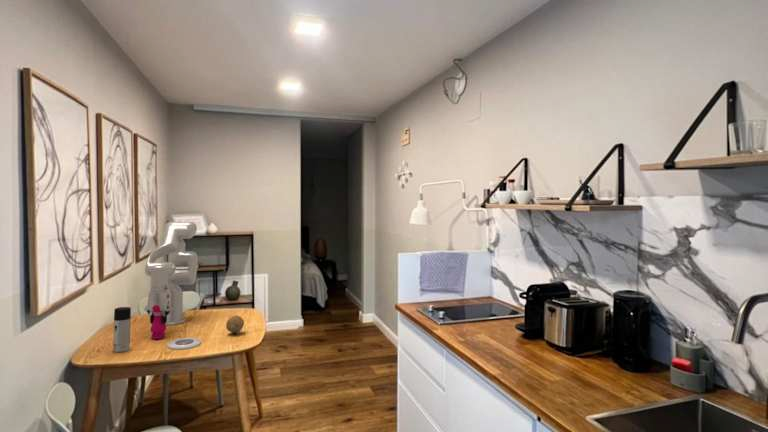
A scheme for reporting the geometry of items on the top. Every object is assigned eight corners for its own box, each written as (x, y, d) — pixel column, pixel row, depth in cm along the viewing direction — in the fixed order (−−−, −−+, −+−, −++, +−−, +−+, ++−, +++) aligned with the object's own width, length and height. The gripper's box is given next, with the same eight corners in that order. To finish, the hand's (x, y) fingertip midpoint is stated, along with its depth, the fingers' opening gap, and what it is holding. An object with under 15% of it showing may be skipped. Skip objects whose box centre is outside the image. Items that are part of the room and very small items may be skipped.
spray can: (118, 347, 196) (118, 306, 195) (132, 347, 196) (133, 306, 196) (110, 352, 189) (110, 310, 189) (125, 352, 190) (126, 310, 189)
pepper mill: (159, 340, 207) (159, 301, 206) (147, 338, 208) (147, 300, 208) (169, 335, 214) (169, 298, 213) (157, 334, 215) (157, 297, 215)
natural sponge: (237, 337, 216) (237, 318, 216) (222, 335, 217) (222, 317, 217) (246, 332, 225) (246, 314, 224) (232, 331, 226) (232, 313, 226)
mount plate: (177, 339, 210) (177, 336, 210) (206, 340, 210) (206, 337, 210) (161, 349, 195) (161, 346, 195) (192, 350, 195) (192, 347, 195)
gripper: (178, 287, 214) (178, 321, 215) (146, 286, 214) (146, 320, 215) (171, 290, 206) (170, 326, 207) (138, 289, 207) (137, 324, 207)
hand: (158, 322), depth 211 cm, fingers closed on pepper mill, 5 cm apart
